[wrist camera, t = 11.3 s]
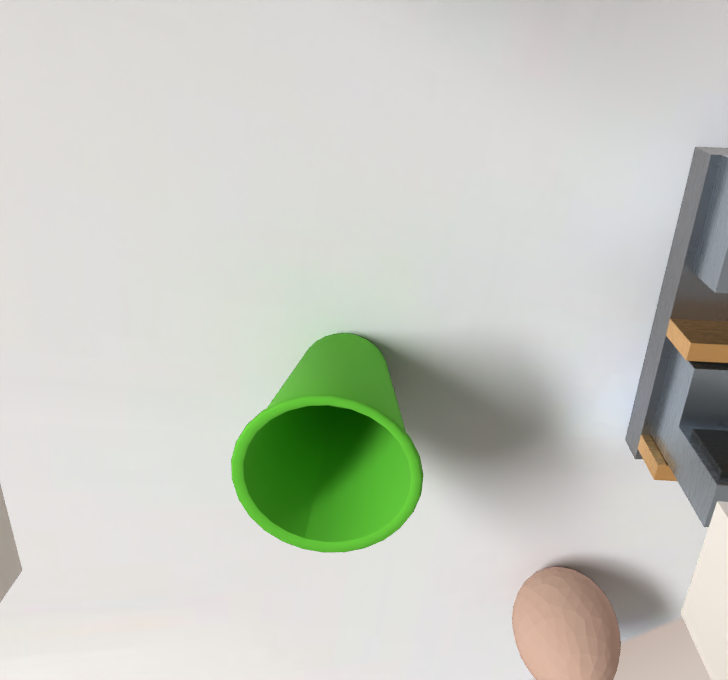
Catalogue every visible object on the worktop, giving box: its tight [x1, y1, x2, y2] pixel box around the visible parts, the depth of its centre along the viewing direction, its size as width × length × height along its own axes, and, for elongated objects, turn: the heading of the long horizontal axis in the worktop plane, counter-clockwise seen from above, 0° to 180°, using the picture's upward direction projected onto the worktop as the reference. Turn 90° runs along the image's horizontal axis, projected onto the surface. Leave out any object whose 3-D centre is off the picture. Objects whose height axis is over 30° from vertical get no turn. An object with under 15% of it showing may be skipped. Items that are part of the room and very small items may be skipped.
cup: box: [231, 333, 423, 552], centre depth 37 cm, size 9×9×11 cm
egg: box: [512, 567, 621, 680], centre depth 44 cm, size 7×7×9 cm
